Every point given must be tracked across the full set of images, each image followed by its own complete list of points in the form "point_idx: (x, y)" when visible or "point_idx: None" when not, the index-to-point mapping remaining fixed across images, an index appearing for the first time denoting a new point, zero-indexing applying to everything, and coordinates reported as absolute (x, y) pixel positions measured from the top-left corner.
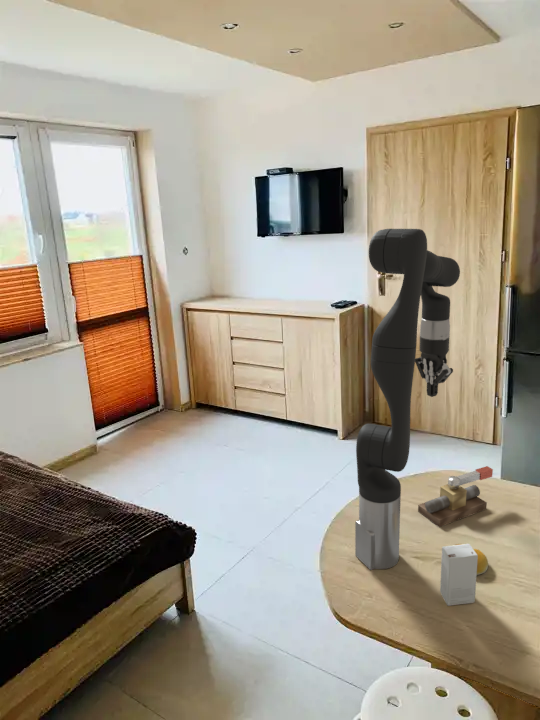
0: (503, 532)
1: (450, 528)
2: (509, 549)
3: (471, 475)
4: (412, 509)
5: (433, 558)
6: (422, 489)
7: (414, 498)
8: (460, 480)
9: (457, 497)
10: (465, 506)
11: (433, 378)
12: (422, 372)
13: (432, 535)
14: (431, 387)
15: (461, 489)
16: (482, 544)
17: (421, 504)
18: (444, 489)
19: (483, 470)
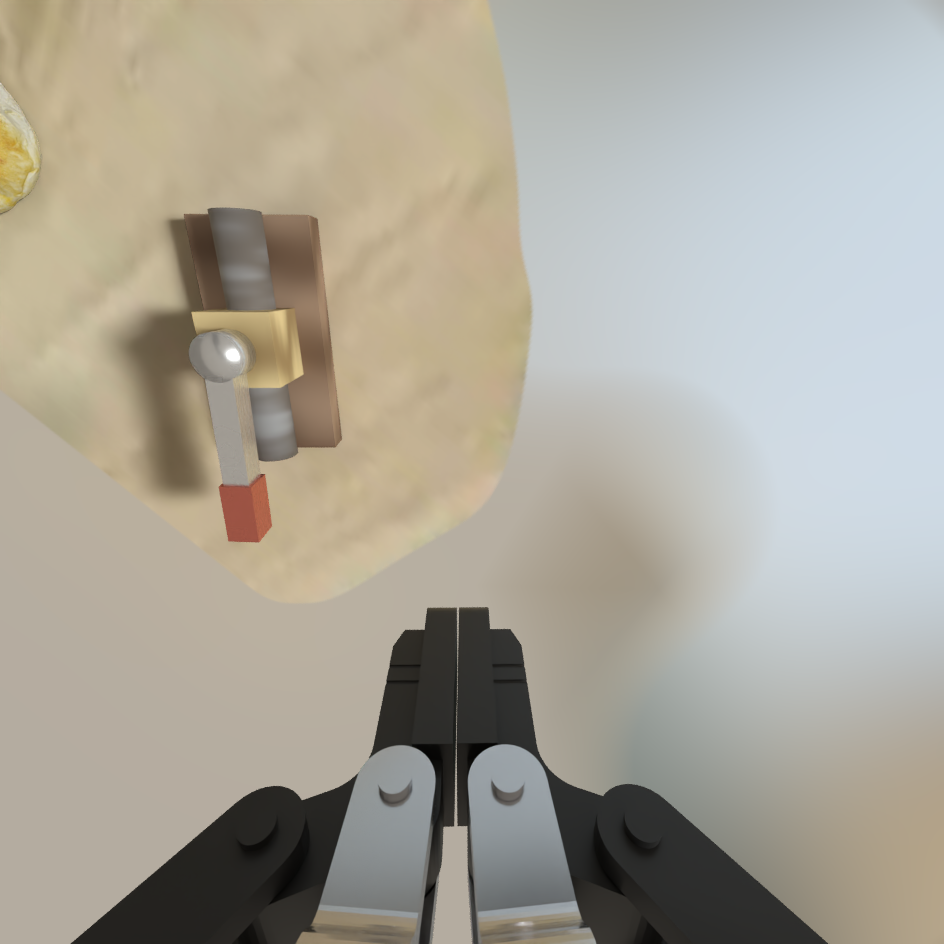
0: (114, 391)
1: (181, 251)
2: (27, 339)
3: (218, 443)
4: (338, 209)
5: (21, 40)
6: (435, 342)
7: (399, 271)
8: (207, 381)
9: None
10: None
11: (322, 894)
12: (689, 932)
13: (160, 153)
14: (415, 704)
15: None
16: (68, 282)
17: (305, 229)
18: (242, 312)
19: (233, 507)
